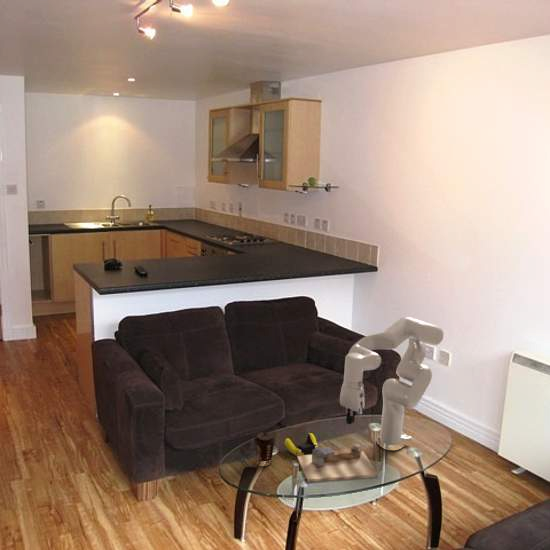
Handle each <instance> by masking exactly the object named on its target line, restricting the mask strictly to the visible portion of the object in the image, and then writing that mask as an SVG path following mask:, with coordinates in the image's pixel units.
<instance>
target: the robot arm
mask: <svg viewBox="0 0 550 550" xmlns="http://www.w3.org/2000/svg"><path fill="white" fill-rule="evenodd" d="M443 339H444V330H443V329H442V328H441V327H439V326H437V325H434V324H431V323H428V322H425V321H422V320H420V319H416V318H413V317H410V316H403V317H401V318H399V319H398V320H396V322H395V323H393V324H391V326H389V327H388V328H386V330H383V332H378V333H374V334H370V335H366V336H364V337H362V338H361V339H359V340H358V341H356V342H355V343H354V344H353V345H352V346H351V347H350V349H349V351H348V353H347V354H346V355H345V357H344V359H345V360H344V373H343V382H342V385H341V388H340V394H339V404H340V407H341V408H343V410H344V413H345V414H346V424H347V425H351V424H353V423H354V422H355V417H356V415H362V414H363V409H364V408H365V406H366V405H365V401H366V400H365V388H364V386H365V385H364V383H363V375H364V371H365V372H366V371H373V370H376V369H377V368H379V367H380V366H381V363H382V358H381V355H379V353H377V352H375V350H394V349H396V348H398V347H399V346H400V345H401V344H402V343H403V342H405V341H407V340H408V346H407V348H406V350H405V352H404V354H403V356H402V358H401V360H400V362H399V364H398V365H397V367H396V375H397V376H398V378H400V379H402V380H404V381H407V382H408V383H411V385H410V384H408V383H406V382H404V381H402V380H400V379H397V378H388V379H386V380H385V381H384V383H383V385H382V391H381V392H382V401H383V403H382V414H381V422H380V423H381V424H380V433H379V434H380V435H379V437H380V441H381V442H382V443H385V444H388V445H398V444H399V443H400V442H403V441H405V440H411V441H412V436H407V434H403V426H404V415H405V408H406V409H409V410H410V409H411V410H412V409H414V408H417V406H418V405H419V403H420V402H421V401H422V399H423V396H424V395H425V393H426V390H427V389H428V387H429V385H430V384H431V380H432V379H433V378H432V376H433V372H432V369H431V368H430V367H429V366H428V365H425V364H423V362H424V360H425V357H426V356H427V348H426V344H427V345H430V346H438V345H439V344H441V343H442V341H443ZM373 350H374V351H373ZM405 442H406V441H405Z"/></svg>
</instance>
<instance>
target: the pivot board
mask: <svg viewBox="0 0 550 550" xmlns="http://www.w3.org/2000/svg"><path fill="white" fill-rule="evenodd" d="M352 447H353V448H354V450H356V451H357V450H358V449H359V448H360V449H361V446H360V444H358V443H354V444H352ZM296 458H297V462H298V464H299V467H300V468H301V470H302V473H303V476H304V475H305V476H304V478H305V477H306V478H305V480H306V479H307V480H306V482H307V481H315V482H327V480H328V481H340V480H351V479H353V480H354V479H363V478H364V479H367V478H378V472H377V471H376V470H375V467H373V464H372V463H371V462H370V460H369V458H368V457H367V455H366V453H365V452H364V450H361V457H360V458H358V459H354V458H352V459H345V460H338V461H331V462H324V464H323V467H321V468H316V467H315V465H314V464H313V463H312V454H311V455H298V456H296Z"/></svg>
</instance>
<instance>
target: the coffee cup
mask: <svg viewBox="0 0 550 550" xmlns="http://www.w3.org/2000/svg"><path fill="white" fill-rule="evenodd" d="M275 440H276V439H275V436H274V435H273V433H271V432H268V431H261V432H259V433H257V434H255V437H254V444H255V448H254V449H255V456H256V461H258V462H261V461H267V460H268V461H269V460H271V461H272V459H273V456H274V453H273V452H274V449H275V448H274V446H275Z"/></svg>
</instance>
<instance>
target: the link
mask: <svg viewBox="0 0 550 550" xmlns="http://www.w3.org/2000/svg"><path fill="white" fill-rule="evenodd" d="M333 451H334V452H335V456H330V457H325V458H324V462H331V461H338V460H345V459H352V458H354V459H358V458H360V457H361V451H362V449H361V447H360V448H359V449H358V450H357V451H356V450H354V448H353V446H352V447H350V448H344V449H339V450H333Z"/></svg>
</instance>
